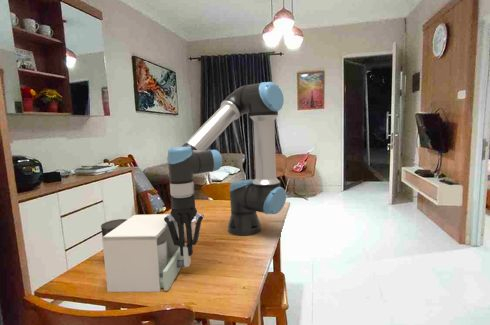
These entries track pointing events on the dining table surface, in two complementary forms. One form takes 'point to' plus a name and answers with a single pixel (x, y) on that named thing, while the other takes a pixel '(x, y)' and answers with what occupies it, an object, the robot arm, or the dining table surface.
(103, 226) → the coffee can
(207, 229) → the dining table surface
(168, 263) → the tray
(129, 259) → the box
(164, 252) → the white cup
